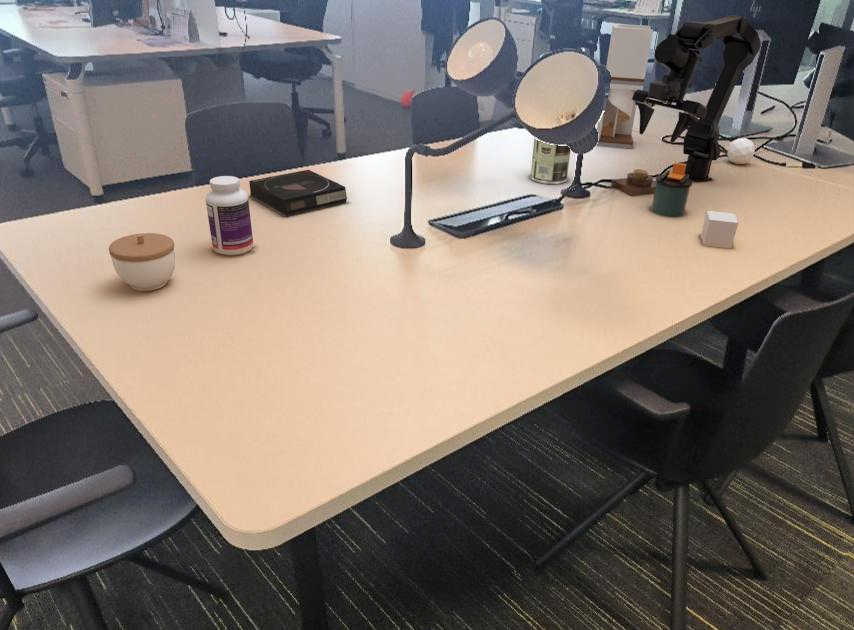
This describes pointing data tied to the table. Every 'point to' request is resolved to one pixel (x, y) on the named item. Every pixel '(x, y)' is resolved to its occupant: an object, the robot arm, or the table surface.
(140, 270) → the trinket box
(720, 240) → the white cube
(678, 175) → the slider
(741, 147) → the geometric ball
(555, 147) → the coffee can
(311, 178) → the portable cd player
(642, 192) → the block
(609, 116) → the white pillar on base
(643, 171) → the call button
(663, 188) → the tumbler
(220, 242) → the pill bottle
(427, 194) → the table surface
